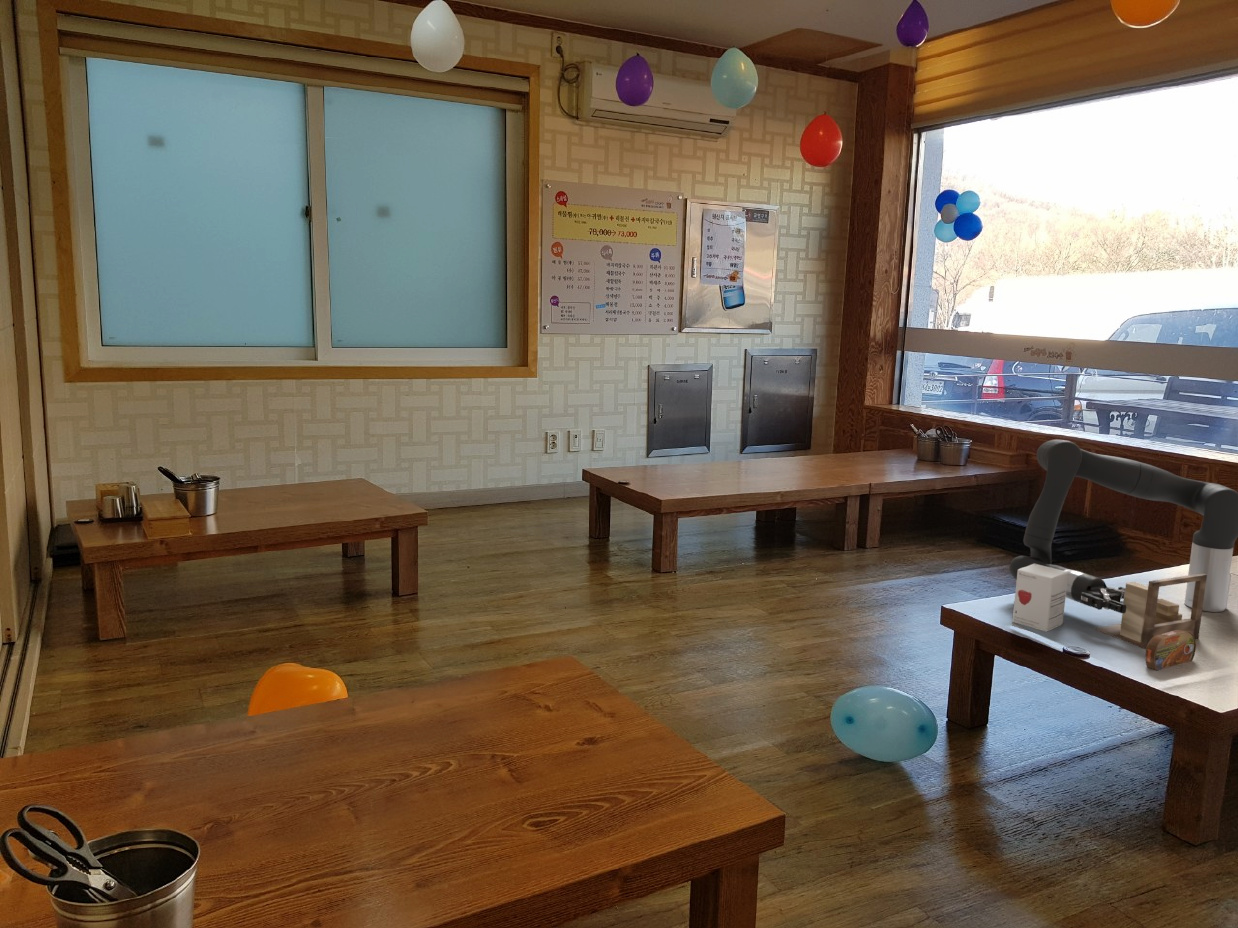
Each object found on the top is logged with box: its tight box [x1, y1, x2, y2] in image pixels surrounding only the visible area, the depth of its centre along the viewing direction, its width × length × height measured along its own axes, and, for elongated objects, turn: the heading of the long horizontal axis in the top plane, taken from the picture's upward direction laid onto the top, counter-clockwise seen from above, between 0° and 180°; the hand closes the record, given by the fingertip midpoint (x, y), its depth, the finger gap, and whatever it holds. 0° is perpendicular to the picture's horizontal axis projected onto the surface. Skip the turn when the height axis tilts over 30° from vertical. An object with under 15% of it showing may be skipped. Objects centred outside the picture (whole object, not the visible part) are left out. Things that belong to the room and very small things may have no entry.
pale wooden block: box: [1120, 581, 1148, 643], centre depth 215 cm, size 3×6×13 cm, turn 22°
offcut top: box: [1156, 598, 1180, 616], centre depth 220 cm, size 4×5×2 cm
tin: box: [1145, 630, 1197, 672], centre depth 201 cm, size 15×3×8 cm, turn 117°
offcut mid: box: [1155, 612, 1183, 623], centre depth 221 cm, size 4×6×2 cm
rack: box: [1093, 573, 1207, 650], centre depth 218 cm, size 18×14×17 cm
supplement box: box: [1011, 564, 1069, 633], centre depth 225 cm, size 9×9×15 cm
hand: (1138, 607), depth 215 cm, fingers open, 8 cm apart
